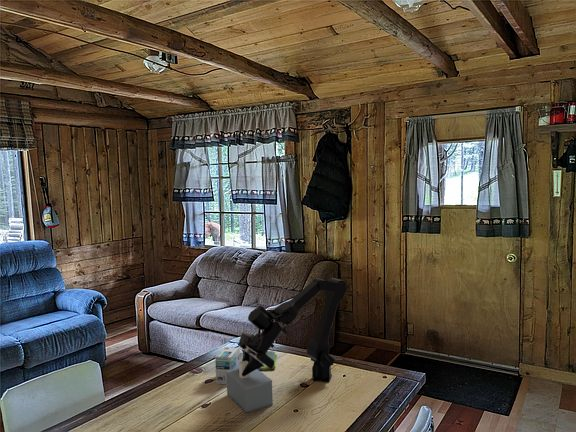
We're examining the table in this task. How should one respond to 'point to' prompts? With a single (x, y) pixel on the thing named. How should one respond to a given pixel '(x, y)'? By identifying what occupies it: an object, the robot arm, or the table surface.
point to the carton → (249, 396)
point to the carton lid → (248, 377)
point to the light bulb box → (226, 363)
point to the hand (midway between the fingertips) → (240, 374)
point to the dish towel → (272, 356)
